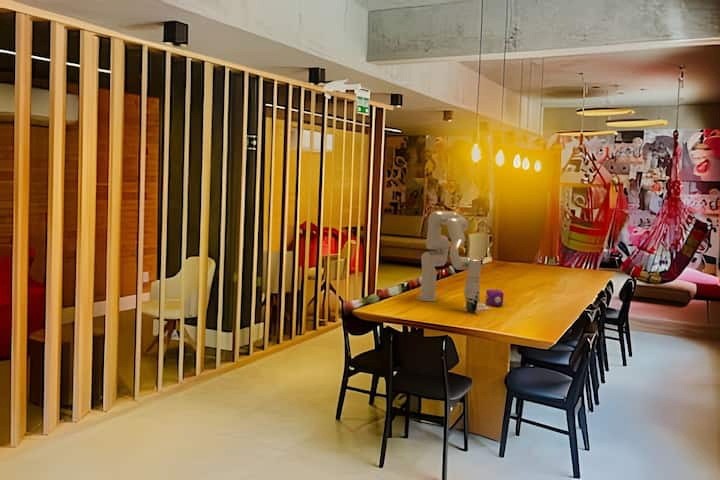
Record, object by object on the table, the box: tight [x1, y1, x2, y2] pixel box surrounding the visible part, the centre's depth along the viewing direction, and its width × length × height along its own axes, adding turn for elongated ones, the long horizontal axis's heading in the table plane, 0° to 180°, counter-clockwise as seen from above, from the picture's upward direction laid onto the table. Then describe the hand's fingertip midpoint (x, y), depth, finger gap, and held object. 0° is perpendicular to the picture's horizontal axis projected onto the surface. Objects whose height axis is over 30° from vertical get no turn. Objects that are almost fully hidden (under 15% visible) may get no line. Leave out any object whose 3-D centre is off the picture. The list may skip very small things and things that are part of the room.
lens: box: [466, 298, 476, 314], centre depth 377 cm, size 5×5×8 cm
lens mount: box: [463, 302, 492, 312], centre depth 390 cm, size 12×12×3 cm
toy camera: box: [485, 288, 504, 307], centre depth 404 cm, size 11×14×10 cm
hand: (471, 309), depth 377 cm, fingers closed on lens, 5 cm apart
